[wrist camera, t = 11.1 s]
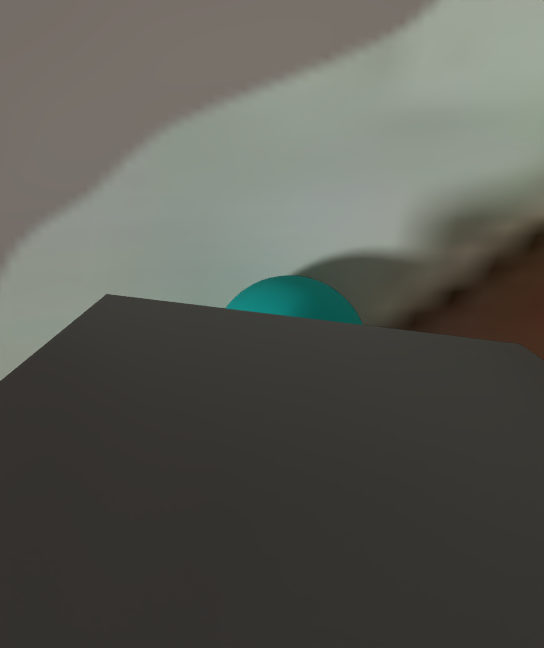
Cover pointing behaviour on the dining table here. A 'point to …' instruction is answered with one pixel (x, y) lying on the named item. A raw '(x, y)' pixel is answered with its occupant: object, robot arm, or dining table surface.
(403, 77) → the dining table surface
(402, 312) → the dining table surface
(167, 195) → the dining table surface
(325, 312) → the ball
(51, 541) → the dark grey block
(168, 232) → the dining table surface
